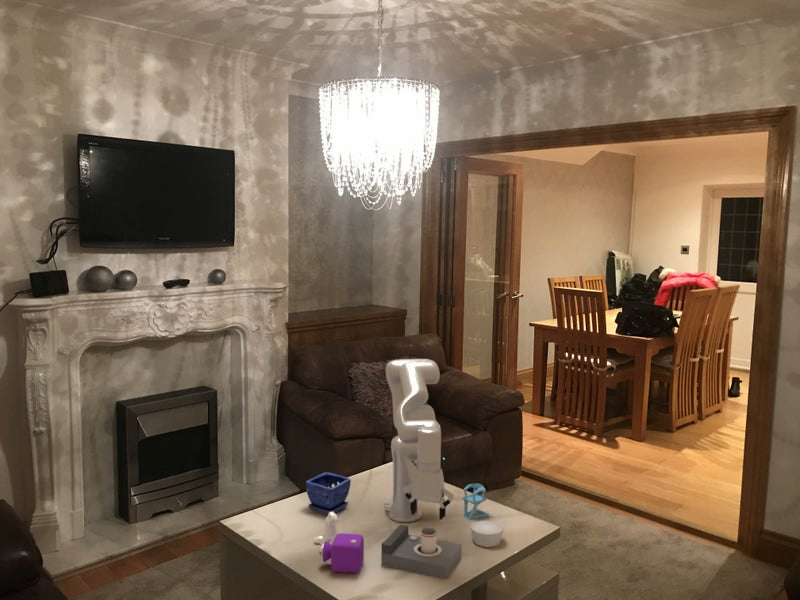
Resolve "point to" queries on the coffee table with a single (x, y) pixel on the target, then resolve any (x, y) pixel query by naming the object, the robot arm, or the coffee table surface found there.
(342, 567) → the toy camera
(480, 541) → the ramekin
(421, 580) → the coffee table surface
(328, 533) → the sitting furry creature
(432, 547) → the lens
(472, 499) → the chair
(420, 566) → the camera body
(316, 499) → the flower pot
